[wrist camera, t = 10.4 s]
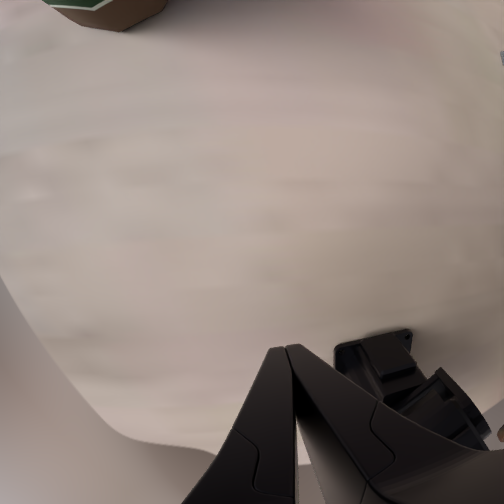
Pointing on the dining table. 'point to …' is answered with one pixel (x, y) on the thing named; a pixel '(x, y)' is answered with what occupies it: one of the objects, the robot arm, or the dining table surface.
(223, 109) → the dining table surface
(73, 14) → the beer bottle
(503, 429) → the dish
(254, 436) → the robot arm
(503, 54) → the box
